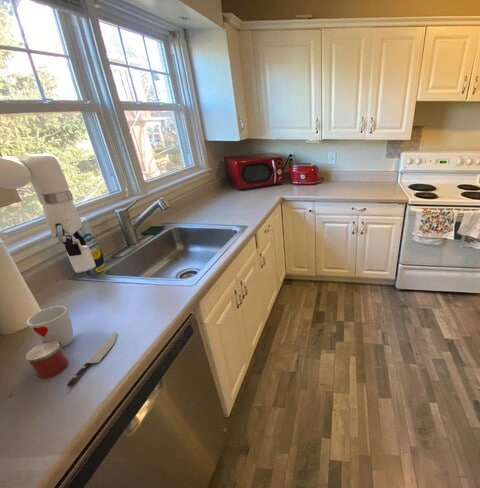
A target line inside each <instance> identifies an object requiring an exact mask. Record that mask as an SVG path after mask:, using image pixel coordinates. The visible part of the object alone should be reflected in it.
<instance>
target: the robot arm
mask: <svg viewBox="0 0 480 488" xmlns="http://www.w3.org/2000/svg"><path fill="white" fill-rule="evenodd" d="M1 156H2V157H1ZM29 183H31V185H32V188H33V190H34V192H35V194H36V197H37V199H38V202H39V204H40V205H41V206H42V212H43V215H44V218H45V222H46V223H47V226H48V229H49V232H50V234H51V236H52V237H54V238H57V241H58V242H61V243H62V245H63V246H64V248H65V250H66V254H67V253H68V255H69V256H76V255H81V254H82V253H81V250H80V248H79V245H78V243H76V242H75V239H79V241H80V244H81V245H85V246H88V245H87V243H86V240H85V238H84V234H83V232H82V228H81V227H82V226H83V222H82V219H81V217H80V215H79V212H78V210H77V207H76V206H75V204H74V202H73V201H74V200H75V199H74V197H73V194H72V192H71V188H70V187H69V184H68V181H67V179H66V176H65V173H64V170H63V169H62V166H61V163H60V160H59V159H58V157H57V156H56V155H54V154H52V153H35V154H34V153H33V154H28V155H22V156H21V155H18V156H17V155H12V156H11V155H0V189H8V190H15V189H16V190H17V189H21V188H24V187H25V186H27V185H28V184H29ZM74 237H75V238H74ZM68 255H67V256H68Z"/></svg>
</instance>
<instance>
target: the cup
mask: <svg viewBox="0 0 480 488" xmlns="http://www.w3.org/2000/svg"><path fill="white" fill-rule="evenodd" d="M26 324H27V325H28V327H29V328H30V329H31V331H32V332H33V333H34V335H35V336H36V337H37V339H39V340H40V341H41V342H42V343H45V342H48V341H57V342H59V344H60V347H61V348H64V347H66V346H68V345H69V344H70V343H72V342H73V340H74V328H73V323H72V318H71V317H70V314H69V312H68V309H67V307H66V306H64V305H55V306H50V307H46V308H44V309H42V310H39V311H37V312H35V313H34V314H32V315H31V316H29V318H28V319H27V320H26Z"/></svg>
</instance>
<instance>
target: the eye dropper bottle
mask: <svg viewBox="0 0 480 488" xmlns="http://www.w3.org/2000/svg"><path fill="white" fill-rule="evenodd" d="M74 238H75V237H74ZM75 242H76V243H78V245H79V248H80V250H81V253H82V254H81V255H76V256H69V255H68V253H67V252H66V255H67V257H68V259H69V262H70V264H71V267H72V269H73V271H74V272H75V273H77V274H79V273H83V272H87V271H90V270H92V269H94V268H96V266H97V265H96V261H95V259H94V257H93V255H92V252H91V249H90V248H89V246H88V245H87V246H85V245H81V244H80V241H79V239H75Z"/></svg>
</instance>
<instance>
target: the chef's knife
mask: <svg viewBox="0 0 480 488" xmlns="http://www.w3.org/2000/svg"><path fill="white" fill-rule="evenodd" d="M116 338H117V332H116V331H114V332H112V334H111V335H110V336H109V337H108V338H107V339H106V340H105V342H103V343H102V344H101V346H100V347H99V348H97V350H96V351H95V352H94V353H93V354H92V356H91V357H90V358H89V359H88V360H87V361H86V362H85V363H84V364H83V366H82V367H81V368H80V369H79V370H78V371H77V372H76V373H75V374H74V376H73V377H72V378H71V379H69V380H68V382H67V384H66V387H71V386H73V385H74V384H75V383H76V381H77V379H79V377H80V376H81V375H82V374H83V372H85V371H86V369H88V367H89V366H91V365H95V364H99V363H100V362H101V360H102V359H103V358H104V357H105V356H106V355H107V353H108V352H109V351H110V349H111V348H112V347H113V345H114V344H115V341H116Z"/></svg>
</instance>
